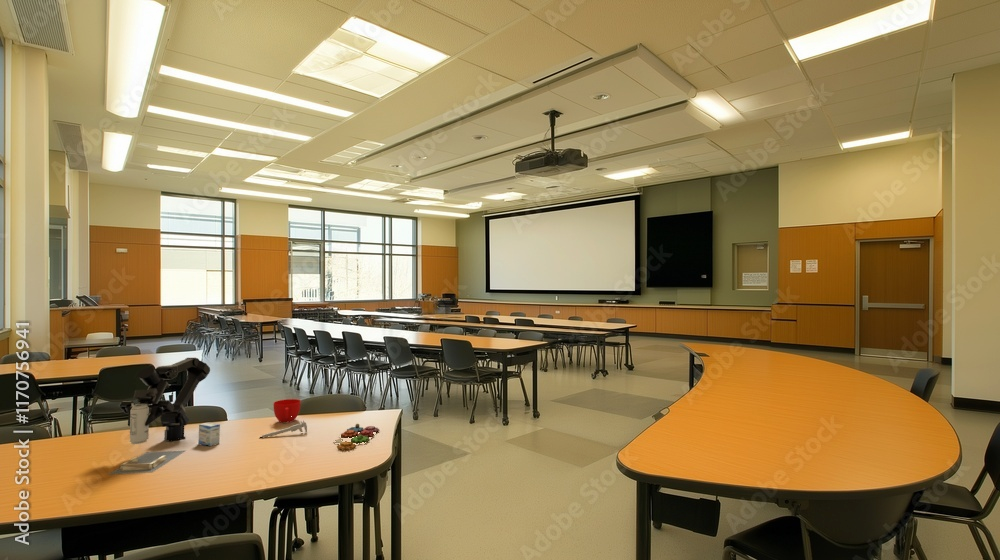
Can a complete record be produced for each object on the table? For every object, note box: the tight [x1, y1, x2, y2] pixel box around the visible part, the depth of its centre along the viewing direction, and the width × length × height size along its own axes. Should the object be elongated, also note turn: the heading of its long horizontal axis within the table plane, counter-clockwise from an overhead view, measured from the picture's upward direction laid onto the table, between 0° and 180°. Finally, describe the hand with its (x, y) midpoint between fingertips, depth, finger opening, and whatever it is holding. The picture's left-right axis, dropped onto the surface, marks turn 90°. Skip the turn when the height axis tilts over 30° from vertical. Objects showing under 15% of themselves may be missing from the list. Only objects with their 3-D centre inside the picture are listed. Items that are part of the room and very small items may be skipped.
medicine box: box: [198, 422, 221, 447], centre depth 204 cm, size 8×4×9 cm, turn 68°
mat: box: [107, 450, 187, 476], centre depth 182 cm, size 24×15×1 cm, turn 9°
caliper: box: [260, 420, 308, 438], centre depth 217 cm, size 20×1×6 cm, turn 115°
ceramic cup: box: [272, 398, 302, 423], centre depth 239 cm, size 13×17×10 cm
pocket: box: [119, 455, 166, 471], centre depth 178 cm, size 9×11×2 cm
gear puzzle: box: [334, 423, 380, 451], centre depth 211 cm, size 31×16×4 cm, turn 178°
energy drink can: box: [129, 403, 150, 445], centre depth 188 cm, size 6×6×15 cm
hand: (137, 425), depth 186 cm, fingers closed on energy drink can, 6 cm apart
